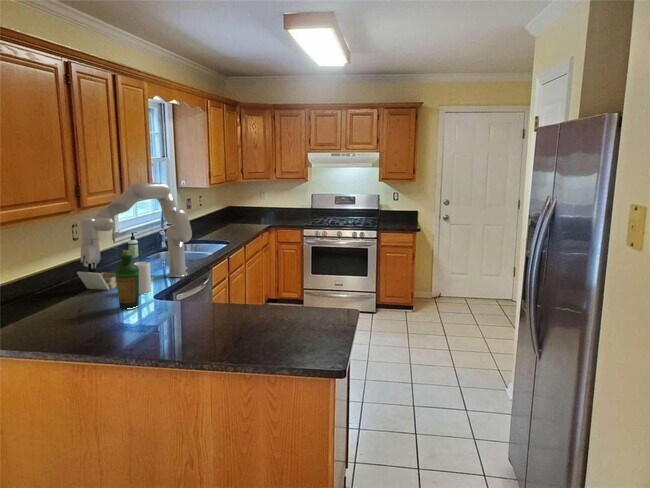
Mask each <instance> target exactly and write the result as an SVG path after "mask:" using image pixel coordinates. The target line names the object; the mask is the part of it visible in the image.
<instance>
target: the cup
mask: <svg viewBox="0 0 650 488" xmlns="http://www.w3.org/2000/svg"><path fill="white" fill-rule="evenodd" d="M133 264H134V265H136V266H137V267H138V268H139V294H143V295H145V294H144V293H149V292H151V293H152V280H151V278H152V277H151V262H148V261H138V262H135V263H133ZM149 294H150V293H149Z"/></svg>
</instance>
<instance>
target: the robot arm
mask: <svg viewBox="0 0 650 488" xmlns="http://www.w3.org/2000/svg"><path fill="white" fill-rule="evenodd" d="M141 199H142V200H143V199H144V200H155V199H156V200H157V201H158V203H159V205H160V208H161V212H162V215H163V219H164V221H165V223H167V224H168V225H169V224H171V225H169V226H168V227H167V228H166V232H165V234H166V240H167V241H166V242H167V245H168V247H167V251H168V270H169V271H168V273H166V277H167V276H168V278H170V277H181V278H185V276H186V277H188V276H189V273H188V272H187V270H188V269H189V268H188V266H186V249H185V248H186V247H185V243H188V242H189V241H190V240H191V239H192V237H193V231H192V226H191V222H190V219H189V216H188V214H187V212H186V211H185V210H183V209H181V208H178V207H177V203H176V201H175V198H174V196H173V194H172V193H171V189H170V186H169V185H168V184H166V183H159V182H149V183H144V182H143V183H142V182H133V183H131V185H130V184H129V186H128V187H127V188H126V189H125V190H123V192H122V193H120V195H119V196H118V197H117V198H116V199H115V200H113V201H111V202H110V203H108V204H109V206H108V207H107V208H105V209H102V208H101V209H100V210H99V211H97V212H96V214H94V216H93V217H83V218H81V220H80V227H81V229H80V231H81V246H80V263H81V264H83V267H86V269H87V270H88V271H87V272H92V273H97V269H96V268H97V265H98V264H99V263H100V261H101V248H100V244H99V234H98V233H99V232H110V231H112V230H113V229H114V228H115V221H114V220H113V218H114V217H116V216H117V215H119V214H123V213H126V212H128V211H130V209H131V208H133V207H134V205H136V203H137V202H139V201H140V200H141ZM187 275H188V276H187Z"/></svg>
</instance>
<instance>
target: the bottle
mask: <svg viewBox="0 0 650 488" xmlns="http://www.w3.org/2000/svg"><path fill="white" fill-rule="evenodd" d="M120 260H121V264H119V265H118V266H117V267H116V269H115V271H114V273H115V275H116V283H117V287H116V288H117V290H116V291H117V297H118V306H119V309H120V308H122V309H121V310H123V309H127V308H133V307H136V306H138V305H140V303H139V302H140V295H139V268H138V267H137V266H136V265H134V263H132V260H133V253H132V252H131V251H130V250H129V249H128V250H127V249H125V250H122V253H120ZM138 307H139V306H138Z"/></svg>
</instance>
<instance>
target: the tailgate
mask: <svg viewBox="0 0 650 488" xmlns="http://www.w3.org/2000/svg"><path fill="white" fill-rule="evenodd" d="M76 274H77V275H78V277H79V279H80V280H81V282H82V283H83V284H84V286H85V288H86V289H89V290H100V291H110V290H111V289H110V288H109V286H108V285H107V283H106V282H105V280H104V279H103V277H102V275H101V274H100V272H96V273H92V272H88V271H77V272H76Z"/></svg>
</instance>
